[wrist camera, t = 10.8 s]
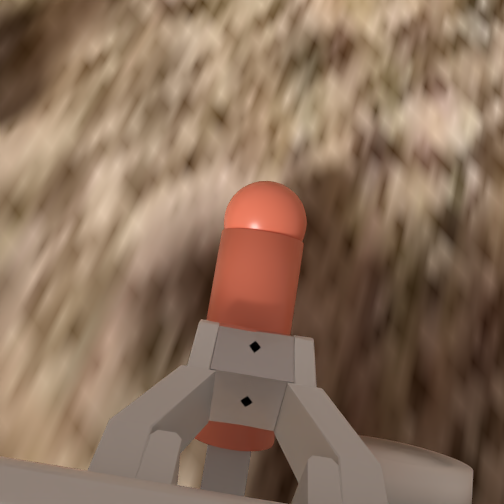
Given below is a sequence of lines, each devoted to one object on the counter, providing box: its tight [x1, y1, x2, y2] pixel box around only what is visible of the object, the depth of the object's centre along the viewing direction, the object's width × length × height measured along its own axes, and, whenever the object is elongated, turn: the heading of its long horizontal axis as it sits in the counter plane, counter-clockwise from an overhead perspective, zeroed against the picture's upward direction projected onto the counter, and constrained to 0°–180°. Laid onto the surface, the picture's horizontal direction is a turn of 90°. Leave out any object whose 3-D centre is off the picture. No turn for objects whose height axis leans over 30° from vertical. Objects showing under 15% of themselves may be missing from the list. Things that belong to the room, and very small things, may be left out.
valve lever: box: [195, 181, 307, 496], centre depth 13 cm, size 3×3×18 cm
